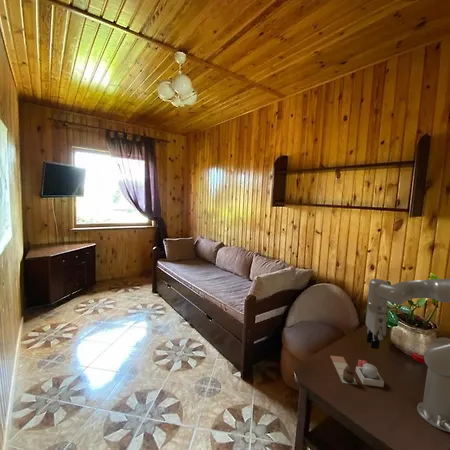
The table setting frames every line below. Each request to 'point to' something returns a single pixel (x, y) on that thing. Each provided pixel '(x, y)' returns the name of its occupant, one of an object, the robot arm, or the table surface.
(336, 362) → the game board
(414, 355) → the decorative ornament
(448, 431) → the robot arm
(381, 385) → the popper base
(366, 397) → the table surface
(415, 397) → the table surface
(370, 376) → the dome
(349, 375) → the pawn
